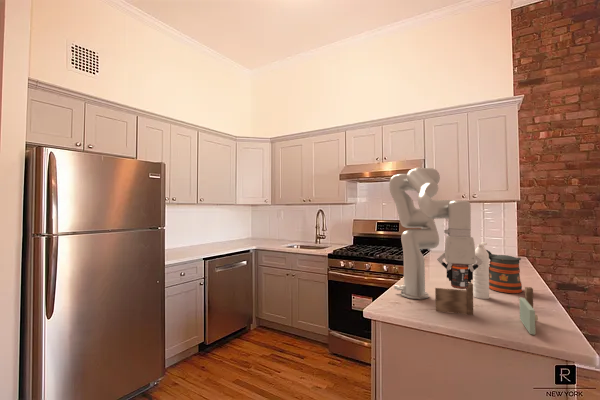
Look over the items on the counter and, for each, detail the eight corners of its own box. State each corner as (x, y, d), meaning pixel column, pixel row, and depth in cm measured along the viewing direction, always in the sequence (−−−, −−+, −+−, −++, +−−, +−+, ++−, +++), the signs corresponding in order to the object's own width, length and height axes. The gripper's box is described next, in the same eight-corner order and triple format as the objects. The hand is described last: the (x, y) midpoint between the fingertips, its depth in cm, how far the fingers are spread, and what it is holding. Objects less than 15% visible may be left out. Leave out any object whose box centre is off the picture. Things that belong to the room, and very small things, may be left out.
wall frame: (436, 311, 127) (435, 282, 127) (435, 309, 130) (435, 280, 130) (534, 321, 116) (533, 288, 116) (531, 318, 119) (530, 286, 119)
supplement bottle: (468, 290, 114) (467, 259, 114) (449, 288, 117) (449, 258, 117) (469, 286, 119) (468, 256, 119) (451, 284, 122) (451, 255, 122)
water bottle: (486, 300, 141) (485, 244, 142) (471, 296, 146) (470, 243, 147) (493, 296, 147) (492, 243, 147) (478, 293, 152) (477, 241, 152)
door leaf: (539, 335, 103) (539, 310, 103) (529, 333, 104) (529, 309, 104) (528, 319, 117) (528, 298, 117) (519, 318, 118) (519, 297, 118)
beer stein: (477, 289, 158) (476, 250, 158) (479, 283, 170) (478, 246, 171) (523, 295, 148) (522, 253, 148) (521, 288, 160) (521, 249, 160)
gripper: (435, 233, 117) (435, 281, 117) (487, 235, 111) (488, 285, 112) (433, 231, 124) (434, 276, 124) (483, 232, 119) (483, 280, 119)
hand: (459, 280), depth 118 cm, fingers closed on supplement bottle, 6 cm apart
